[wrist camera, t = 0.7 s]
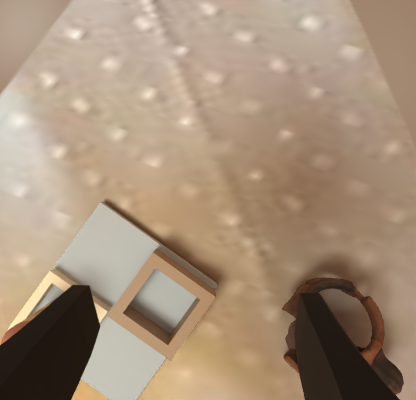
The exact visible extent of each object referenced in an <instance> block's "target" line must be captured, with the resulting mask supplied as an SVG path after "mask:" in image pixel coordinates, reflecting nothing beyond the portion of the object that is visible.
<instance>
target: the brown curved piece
mask: <svg viewBox="0 0 416 400" xmlns="http://www.w3.org/2000/svg"><path fill="white" fill-rule="evenodd" d="M330 288H335V289H340V290H342V291H343V292H345V293H346V294H348V295H350V296H352V297H355V298H357V299H358V300H360V302H361V303H362V305H363V306H364V307H365V309H366V311H367V312H368V314H369V317H370V320H371V324H372V336H371V341H370V343H369V345H368V346H367V347H366V348H361V347H357V349H358V350H359V351H360V353H361V354H362V355H363V357H364V358H365V359H366V360H367V362H368V363H369V364H370V366H371V367H372V368H373V369H374V370H375V372H376V373H377V374H378V375H379V376H380V378H381V379H382V380H383V381H384V382H385V384H386V385H387V386H388V387H389V388H390V389H391V391H392V392H393V393H394V394H395V395H396V394H398V393H400V392H401V390H402V386H403V384H404V382H403V376H402V373H401V372H400V370H399V369H398V368H397V367H396V366H395V365H394V364H393V363H392V362H390V361H389V360H388V359H387V358H386V357H385V355H384V353H383V350H382V348H381V347H382V345H383V340H384V323H383V319H382V316H381V313H380V310H379V308H378V306H377V305H376V303H375V302H374V301H373V299H372V298H371V297H370V296H367V297H364V296H363V295H362V294H361V293H360V292H359V291H357V290H356V289H355V287H354V285H353V283H352V282H350V281H347V280H343V279H336V278H316V279H312V280H309V281H307V282H306V285H301V286H300V287H299V288H298V289H297V291H296V292H295V293H294V295H293V296H292V298H291V299H290V300H289V301H288V302H287V303H286V304H285V305H284V306H283V308H282V310H285V311H287V312H288V313H289V314H291V315H292V316H294V317H295V318H297V310H298V302H299V295H300V293H318V292H320V291H322V290H325V289H330ZM295 326H296V320H295V321H294V322H292V323H291V325H290V327H289V330H288V335H287V336H286V342H287V345H288V347H289V349H296V347H295V338H294V333H295ZM284 359H285V360H286V362H287V363H288V364H289V365H290V366H291V367H292V368H294V369H295V370H296V371H297V372H298V373H299V370H298V364H297V363H296V362H295V361H294V360H293V359H292V358H291V357H290V356H288V355H284Z"/></svg>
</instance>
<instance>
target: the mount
mask: <svg viewBox="0 0 416 400" xmlns="http://www.w3.org/2000/svg"><path fill="white" fill-rule="evenodd" d="M72 285H90V289H91V293H92V297H93V301H94V304H95V308H96V312H97V316H98V319H99V323H100V330H99V333H98V336H97V339H96V343H95V346H94V349H93V352H92V355H91V357H90V359H89V362H88V364H87V366H86V368H85V370H84V373H83V375H82V377H81V380H83V381H84V382H86V383H87V384H89V385H90V386H91V387H93V388H94V389H96V390H97V391H99V392H100V393H101V394H103V395H104V396H106V397H107V398H109V399H110V400H136V399H137V398H138V397H139V395H140V394H141V392H142V391H143V390H144V388H145V387H146V385H147V384H148V383H149V381H150V380H151V378H152V377H153V376H154V374H155V373H156V371H157V370H158V368H159V367H160V366H161V364H162V363H163V361H164V360H165V359H166V358H167V359H169V360H170V361H171V360H172V358H173V357H174V355H175V354H176V353H177V351H178V350H179V348H180V347H181V346H182V344H183V343H184V341H185V340H186V339H187V337H188V336H189V334H190V333H191V332H192V330H193V329H194V327H195V326H196V325H197V323H198V322H199V320H200V319H201V317H202V316H203V315H204V313H205V312H206V310H207V309H208V308H209V306H210V305H211V303H212V302H213V301H214V299H215V298H216V295H215V289H216V287H217V286H218V285H217V283H216V282H215V281H213V280H212V279H211V278H209V277H208V276H206V275H205V274H204V273H202V272H201V271H199V270H198V269H197V268H195V267H194V266H192V265H191V264H189V263H188V262H187V261H185V260H184V259H182V258H181V257H180V256H178V255H177V254H175V253H174V252H173V251H171V250H170V249H168V248H167V247H166V246H164V245H163V244H161V243H160V242H159V241H157V240H156V239H154V238H153V237H152V236H150V235H149V234H147V233H146V232H145V231H143V230H142V229H140V228H139V227H138V226H136V225H135V224H133V223H132V222H131V221H129V220H128V219H126V218H125V217H124V216H122V215H121V214H119V213H118V212H117V211H115V210H114V209H112V208H111V207H110V206H108V205H107V204H105V203H104V202H100V204H99V205H98V207H97V208H96V209H95V211H94V212H93V213H92V215H91V216H90V218H89V219H88V220H87V222H86V223H85V224H84V226H83V227H82V229H81V230H80V231H79V233H78V234H77V236H76V237H75V238H74V240H73V241H72V242H71V244H70V245H69V247H68V248H67V249H66V251H65V252H64V253H63V255H62V256H61V258H60V259H59V260H58V262H57V263H56V264H55V266H54V267H53V269H52V270H50V271H49V273H48V274H47V275H46V277H45V278H44V279H43V281H42V282H41V284H40V285H39V286H38V288H37V289H36V291H35V292H34V293H33V295H32V296H31V297H30V299H29V300H28V302H27V303H26V304H25V306H24V307H23V308H22V310H21V311H20V313H19V314H18V315H17V317H16V318H15V319H14V321H13V322H12V324H11V325H10V326H9V328H8V330H9V329H10V328H12V327H13V326H15V325H16V324H18V323H20V322H22V321H23V320H25V319H26V318H28V317H29V316H31V315H32V314H34V313H35V312H36V311H38V310H39V309H41V308H42V307H44V306H45V305H47V304H48V303H50V302H51V301H53V300H54V299H57V298H58V297H59V296H60V295H61V294H62V293H64V292H65V291H66V290H67V289H68V288H70V287H71V286H72Z"/></svg>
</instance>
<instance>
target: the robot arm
mask: <svg viewBox="0 0 416 400" xmlns="http://www.w3.org/2000/svg"><path fill="white" fill-rule="evenodd" d="M99 330H100V323H99V319H98V316H97V312H96V308H95V304H94V301H93V297H92V293H91V289H90V285H72V286H71V287H70V288H68V289H67V290H66V291H65V292H64V293H62V294H61V295H60V296H59V297H58V298H57V299H55V300H54V301H53V302H52V303H51V304H50V305H48V306H47V307H46V308H45V309H44V310H43V311H42V312H40V313H39V314H38V315H37V316H36V317H34V318H33V319H32V320H31V321H30V322H29V323H27V324H26V325H25V326H24V327H23V328H21V329H20V330H19V331H18V332H16V333H15V334H14V335H13V336H11V337H10V338H9V339H8V340H6V341H5V342H4V343H2V344H1V345H0V400H71V399H72V396H73V394H74V392H75V390H76V388H77V386H78V384H79V381H80V379H81V377H82V375H83V373H84V370H85V368H86V366H87V364H88V362H89V359H90V357H91V355H92V352H93V349H94V346H95V343H96V339H97V336H98V333H99ZM294 338H295V347H296V356H297V364H298V370H299V374H300V379H301V383H302V388H303V392H304V397H305V400H400V399H399V398H398V397H397V396H396V395H395V394H394V393H393V392H392V391H391V389H390V388H389V387H388V386H387V385H386V384H385V382H384V381H383V380H382V379H381V378H380V376H379V375H378V374H377V373H376V372H375V370H374V369H373V368H372V367H371V366H370V364H369V363H368V362H367V360H366V359H365V358H364V357H363V355H362V354H361V353H360V351H359V350H358V349H357V347H356V346H355V345H354V343H353V342H352V341H351V339H350V338H349V337H348V335H347V334H346V332H345V331H344V330H343V328H342V327H341V325H340V324H339V322H338V321H337V319H336V318H335V316H334V315H333V313H332V312H331V310H330V309H329V307H328V306H327V304H326V303H325V301H324V299H323V298H322V296H321V295H320V294H319V293H300V295H299V302H298V310H297V318H296V326H295V333H294Z"/></svg>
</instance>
